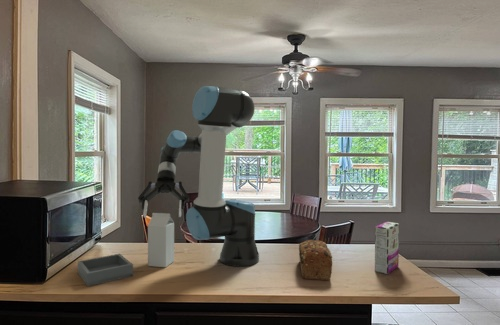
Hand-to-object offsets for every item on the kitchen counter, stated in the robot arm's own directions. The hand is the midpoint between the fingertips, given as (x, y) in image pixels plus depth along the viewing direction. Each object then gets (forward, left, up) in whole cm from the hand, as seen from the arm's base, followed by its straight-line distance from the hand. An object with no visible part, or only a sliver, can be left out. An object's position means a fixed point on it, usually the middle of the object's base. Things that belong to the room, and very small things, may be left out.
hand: (162, 215), depth 130 cm
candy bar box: (-61, -60, -17) cm, 87 cm away
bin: (-6, +23, -17) cm, 29 cm away
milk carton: (-7, +3, -17) cm, 19 cm away
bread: (-46, -37, -17) cm, 62 cm away
